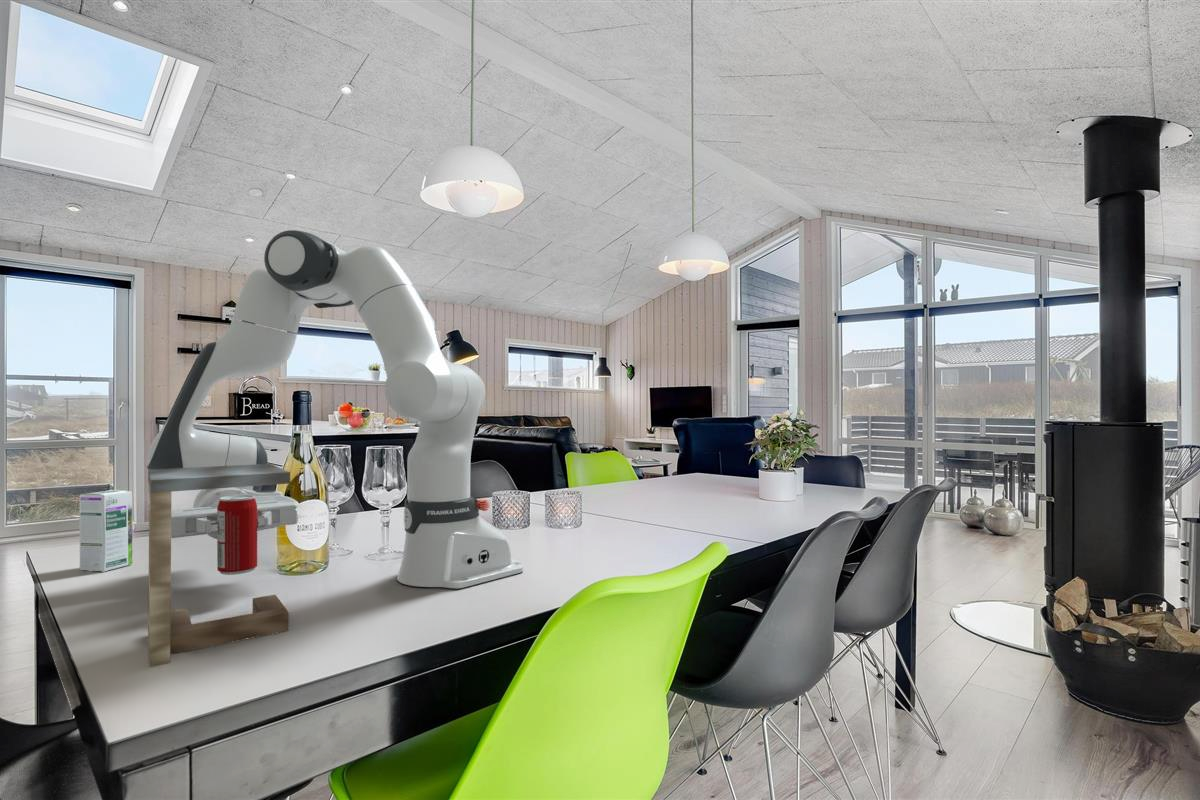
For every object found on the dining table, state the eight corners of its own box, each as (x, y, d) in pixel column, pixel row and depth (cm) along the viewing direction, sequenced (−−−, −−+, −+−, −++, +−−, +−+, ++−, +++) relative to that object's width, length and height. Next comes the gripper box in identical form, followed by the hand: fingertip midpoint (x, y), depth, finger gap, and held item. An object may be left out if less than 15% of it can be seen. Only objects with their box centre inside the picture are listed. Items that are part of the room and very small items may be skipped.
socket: (275, 611, 93) (275, 594, 93) (288, 630, 85) (288, 612, 85) (160, 631, 84) (160, 613, 84) (163, 655, 76) (164, 635, 76)
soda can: (265, 567, 100) (265, 493, 100) (235, 576, 95) (235, 498, 95) (240, 564, 102) (239, 492, 102) (209, 573, 97) (208, 497, 97)
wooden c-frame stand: (269, 608, 94) (270, 463, 94) (289, 637, 82) (290, 472, 82) (146, 629, 85) (148, 469, 85) (149, 666, 73) (151, 480, 73)
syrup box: (103, 572, 114) (104, 494, 114) (77, 570, 115) (78, 493, 115) (132, 564, 119) (133, 489, 120) (107, 563, 121) (108, 489, 121)
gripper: (154, 501, 102) (157, 512, 91) (290, 490, 115) (307, 498, 104) (154, 539, 102) (157, 555, 91) (290, 524, 115) (307, 536, 104)
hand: (238, 524), depth 97 cm, fingers closed on soda can, 5 cm apart
